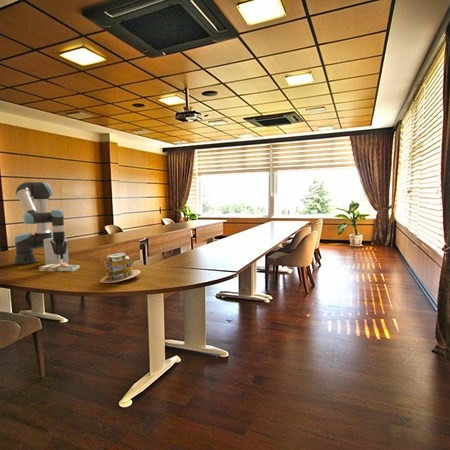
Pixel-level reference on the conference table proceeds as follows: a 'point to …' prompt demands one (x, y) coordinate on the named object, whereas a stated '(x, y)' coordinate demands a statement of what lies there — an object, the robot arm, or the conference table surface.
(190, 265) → the conference table surface
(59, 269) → the tray
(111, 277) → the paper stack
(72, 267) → the slate tile
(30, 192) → the robot arm
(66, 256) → the hard drive box
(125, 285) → the conference table surface
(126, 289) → the conference table surface
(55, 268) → the board
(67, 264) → the terracotta tile
